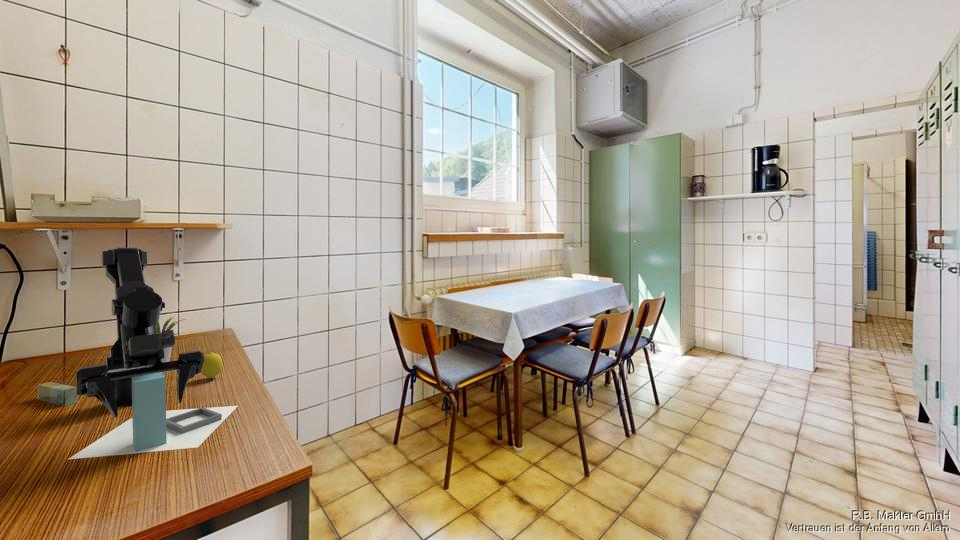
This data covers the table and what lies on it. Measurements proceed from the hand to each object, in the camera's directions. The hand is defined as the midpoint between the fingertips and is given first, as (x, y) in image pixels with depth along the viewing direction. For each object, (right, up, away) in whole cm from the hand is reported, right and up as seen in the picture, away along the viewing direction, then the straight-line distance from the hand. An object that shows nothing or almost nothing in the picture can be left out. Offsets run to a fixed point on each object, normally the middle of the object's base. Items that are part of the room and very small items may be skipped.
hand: (149, 408), depth 71 cm
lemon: (-17, -6, +41) cm, 45 cm away
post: (-1, -7, +1) cm, 7 cm away
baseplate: (-3, -8, +7) cm, 11 cm away
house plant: (-44, -5, +55) cm, 70 cm away
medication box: (-43, -7, +23) cm, 49 cm away
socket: (0, -7, +10) cm, 12 cm away
